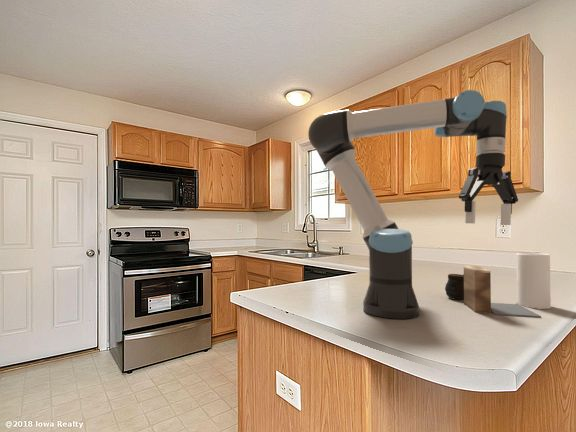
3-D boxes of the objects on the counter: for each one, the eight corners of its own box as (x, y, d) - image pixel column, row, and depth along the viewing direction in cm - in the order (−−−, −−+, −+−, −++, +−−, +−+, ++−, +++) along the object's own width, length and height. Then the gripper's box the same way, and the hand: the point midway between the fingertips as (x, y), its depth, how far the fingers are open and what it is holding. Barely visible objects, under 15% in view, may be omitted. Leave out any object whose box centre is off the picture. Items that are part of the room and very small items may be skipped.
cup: (543, 303, 101) (542, 253, 101) (556, 309, 93) (555, 255, 93) (513, 301, 103) (512, 252, 104) (522, 307, 96) (521, 254, 96)
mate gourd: (440, 296, 110) (440, 267, 110) (460, 296, 111) (460, 267, 111) (453, 301, 103) (453, 270, 103) (475, 301, 104) (475, 270, 104)
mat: (495, 314, 88) (495, 313, 88) (478, 303, 100) (478, 302, 100) (540, 317, 85) (540, 316, 85) (517, 305, 98) (517, 304, 98)
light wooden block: (475, 312, 90) (474, 270, 90) (464, 303, 100) (463, 265, 100) (490, 313, 89) (490, 270, 89) (478, 304, 99) (477, 266, 99)
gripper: (467, 147, 89) (464, 222, 89) (533, 155, 96) (531, 225, 95) (447, 152, 96) (444, 222, 96) (510, 160, 103) (508, 225, 103)
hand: (488, 224), depth 96 cm, fingers open, 13 cm apart
